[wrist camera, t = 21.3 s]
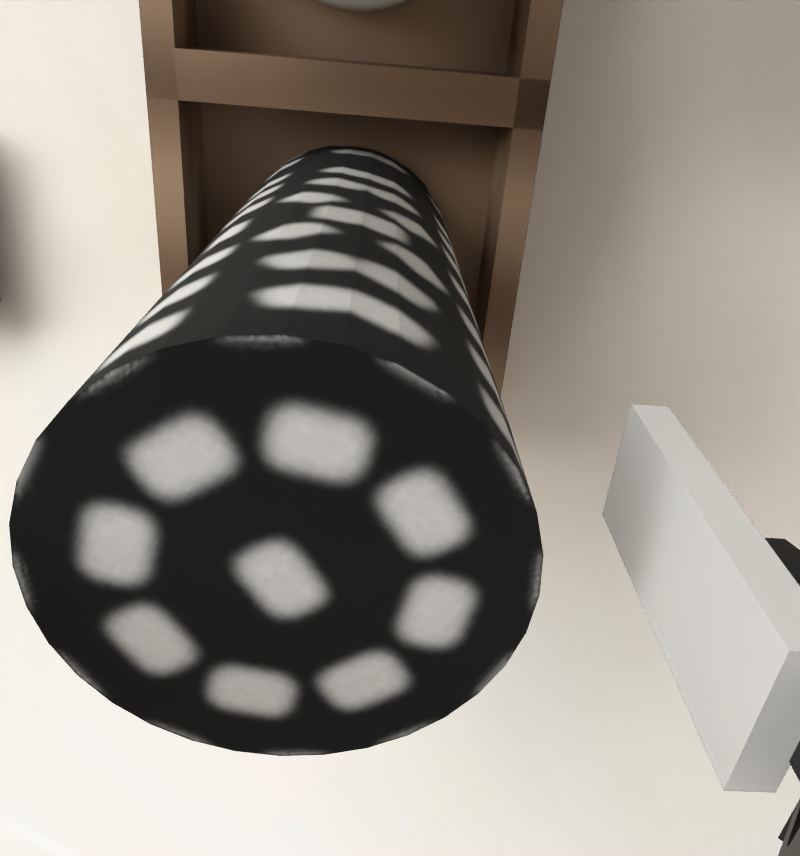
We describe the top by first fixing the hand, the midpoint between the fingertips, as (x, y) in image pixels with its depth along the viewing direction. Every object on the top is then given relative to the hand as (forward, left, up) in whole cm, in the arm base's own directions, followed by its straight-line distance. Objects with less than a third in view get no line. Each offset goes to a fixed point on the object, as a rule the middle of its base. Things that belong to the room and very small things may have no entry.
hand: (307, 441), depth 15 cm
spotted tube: (0, 0, -16) cm, 16 cm away
